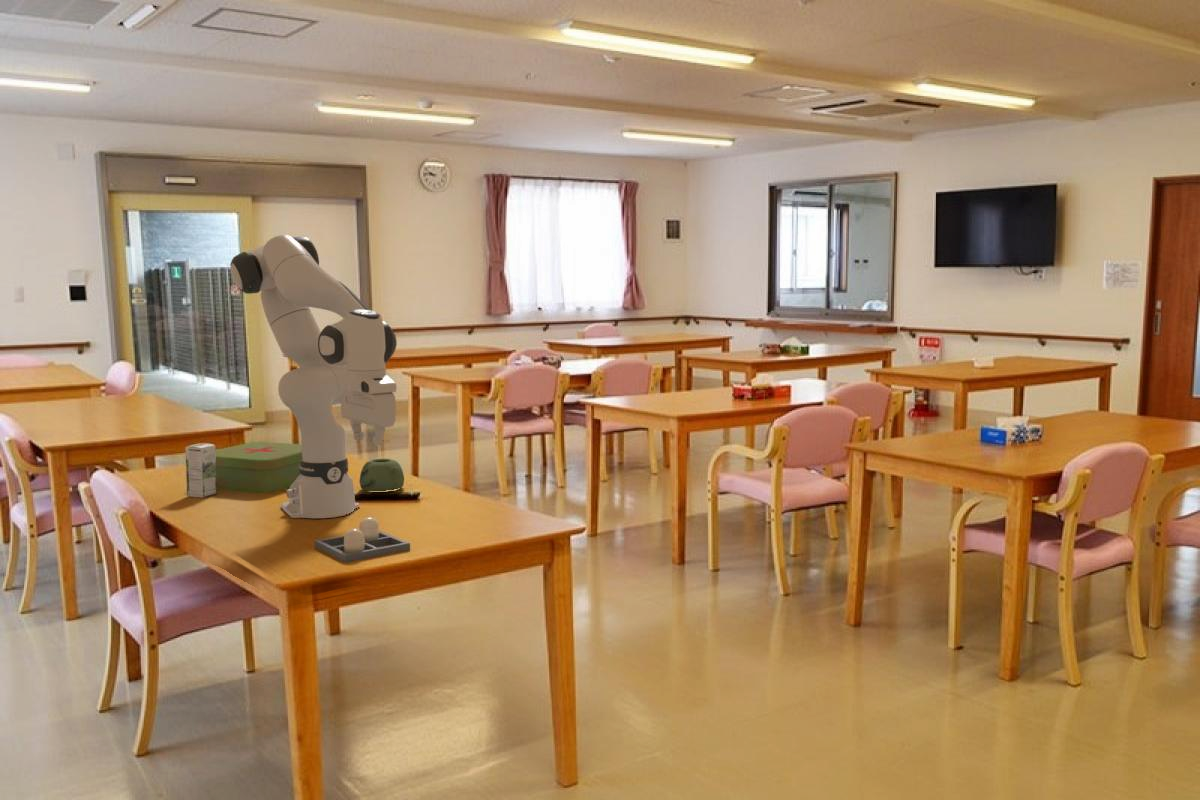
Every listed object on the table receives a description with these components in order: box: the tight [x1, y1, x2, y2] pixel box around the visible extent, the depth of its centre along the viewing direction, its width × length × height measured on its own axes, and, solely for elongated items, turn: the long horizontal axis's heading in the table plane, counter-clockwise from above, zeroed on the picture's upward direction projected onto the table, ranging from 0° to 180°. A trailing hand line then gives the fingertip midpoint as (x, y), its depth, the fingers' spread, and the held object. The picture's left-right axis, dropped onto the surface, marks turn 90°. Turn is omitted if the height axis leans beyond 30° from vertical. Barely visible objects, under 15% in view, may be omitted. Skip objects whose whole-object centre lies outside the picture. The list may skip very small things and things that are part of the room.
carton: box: [314, 529, 411, 564], centre depth 226 cm, size 16×16×2 cm
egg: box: [358, 516, 380, 541], centre depth 231 cm, size 4×4×6 cm
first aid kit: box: [215, 441, 302, 494], centre depth 302 cm, size 26×26×10 cm
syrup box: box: [184, 442, 218, 499], centre depth 284 cm, size 6×6×14 cm
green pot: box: [359, 458, 405, 492], centre depth 291 cm, size 16×13×9 cm
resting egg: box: [344, 528, 365, 554], centre depth 221 cm, size 4×4×6 cm
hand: (367, 442), depth 229 cm, fingers open, 8 cm apart
